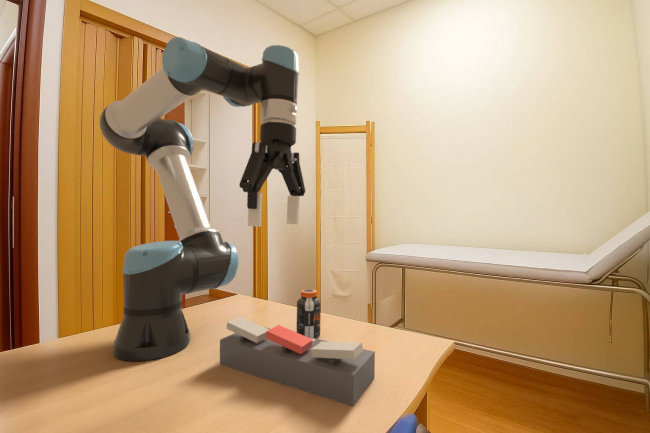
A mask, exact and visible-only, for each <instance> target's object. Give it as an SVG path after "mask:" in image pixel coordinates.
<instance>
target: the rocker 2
mask: <svg viewBox="0 0 650 433" xmlns="http://www.w3.org/2000/svg"><path fill="white" fill-rule="evenodd" d="M363 349H364V348H363V342H362V341H361V342H360V341H359V342H358V341H357V342H355V341H353V342H351V341H329V342H320V343H319V344H318V345H316V346H315V347H313V348H312V349H311V351H312V357H318V358H338V359H355V358H356V357H357V356H358V355H359V354H360V353H361V352H362V351H363Z"/></svg>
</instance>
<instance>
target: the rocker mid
mask: <svg viewBox="0 0 650 433" xmlns="http://www.w3.org/2000/svg"><path fill="white" fill-rule="evenodd" d="M266 338H267V339H269V340H271V341H273V342H275V343H277V344H280V345H282V346H284V347H286V348H288V349H290V350H293V351H295V352H297V353H299V354H302V353H303V352H305V351H306V350H308V349H309V348H310V347H312V342H313V339H310V338H308V337H306V336H303V335H301V334H299V333H297V331H294V330H291V329H289V328H287V327H284V326H282V325H280V324H278V325H276V326H274V327H272V328H270V330H268V331H267V332H266Z"/></svg>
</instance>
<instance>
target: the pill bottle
mask: <svg viewBox="0 0 650 433" xmlns="http://www.w3.org/2000/svg"><path fill="white" fill-rule="evenodd" d="M321 302H322V301H321V300H320V299H319V298H318V291H317V290H316V289H311V288H309V289H308V288H307V289H306V288H305V289H302V290H300V297H299V299H298V300H297V301H296V333H299V334H301V335H303V336H306V337H311V338H315V339H319V337H320V336H321V318H322V316H321V310H322V308H321V307H322V304H321Z"/></svg>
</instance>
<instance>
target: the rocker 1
mask: <svg viewBox="0 0 650 433" xmlns="http://www.w3.org/2000/svg"><path fill="white" fill-rule="evenodd" d="M264 327H265V326H262V325H261V324H257V323H255V322H253V321H250V320H249V319H246V318H244V317H242V316H240V317H237V318H234V319H231V320H229V321H227V324H226V330H228V331H231V332H233V334H234V333H237V334H239V335H241V336H243V337H245V338H247V339H249V340H251V341H253V342H255V343H258V342H260V341H262V340H264V339H265V338H266V332H267V331H268V330H269V329H267V328H268V327H266V328H264Z"/></svg>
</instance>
